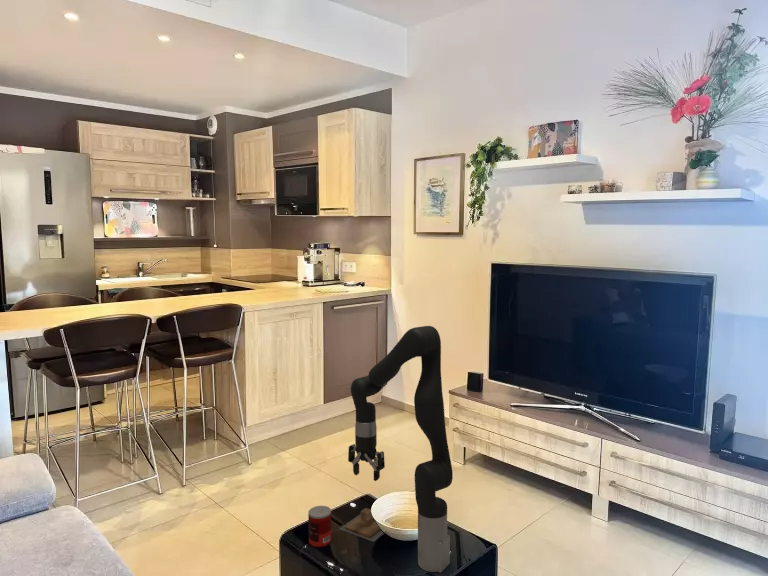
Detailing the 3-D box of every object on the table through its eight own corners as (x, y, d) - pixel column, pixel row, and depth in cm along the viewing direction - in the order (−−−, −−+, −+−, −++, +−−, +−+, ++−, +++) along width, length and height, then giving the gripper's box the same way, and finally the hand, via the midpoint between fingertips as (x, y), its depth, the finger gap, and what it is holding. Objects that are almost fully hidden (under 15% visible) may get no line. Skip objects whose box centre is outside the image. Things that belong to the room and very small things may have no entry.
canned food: (333, 536, 186) (333, 505, 185) (329, 549, 178) (328, 517, 177) (312, 535, 187) (311, 504, 186) (306, 548, 179) (305, 516, 178)
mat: (394, 526, 192) (394, 525, 192) (373, 542, 181) (373, 541, 181) (360, 514, 200) (360, 513, 200) (339, 530, 190) (339, 528, 190)
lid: (388, 524, 192) (388, 508, 192) (370, 538, 183) (370, 521, 183) (363, 516, 198) (363, 500, 198) (345, 529, 189) (344, 513, 189)
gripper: (388, 433, 187) (388, 478, 189) (356, 425, 195) (356, 468, 196) (376, 439, 181) (376, 486, 182) (343, 431, 189) (343, 476, 190)
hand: (366, 477), depth 189 cm, fingers open, 8 cm apart
